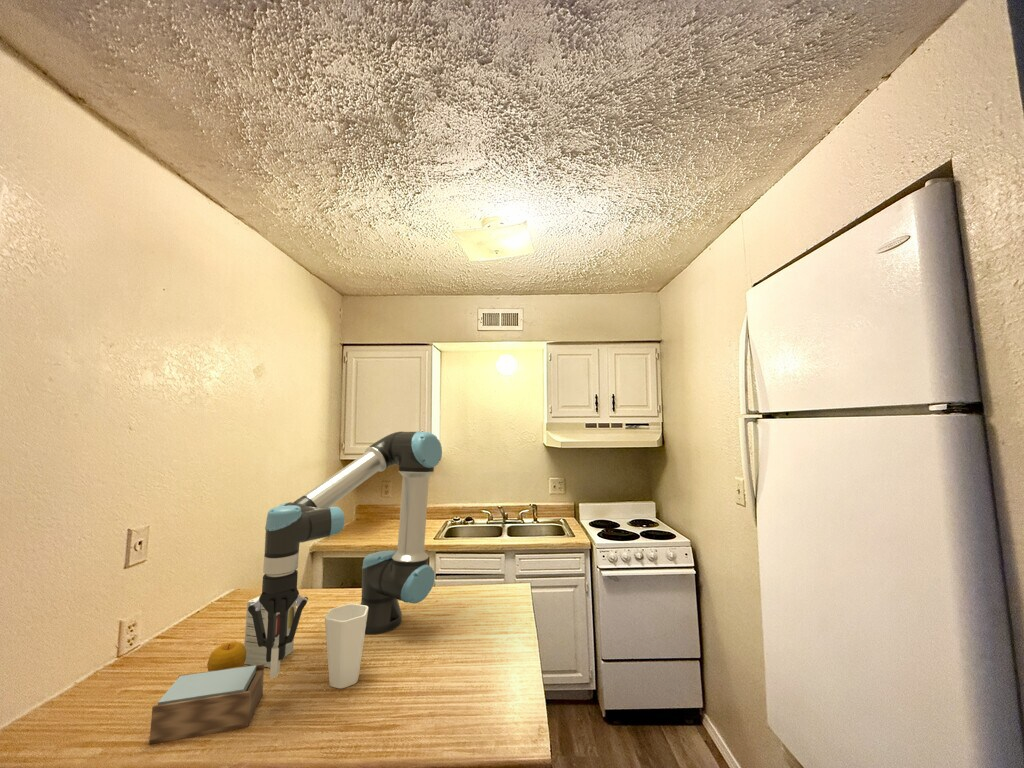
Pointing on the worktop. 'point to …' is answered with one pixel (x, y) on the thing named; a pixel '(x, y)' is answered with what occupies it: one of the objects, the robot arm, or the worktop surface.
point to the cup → (345, 643)
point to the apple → (227, 656)
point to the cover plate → (209, 684)
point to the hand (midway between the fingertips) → (274, 674)
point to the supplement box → (251, 645)
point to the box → (206, 712)
